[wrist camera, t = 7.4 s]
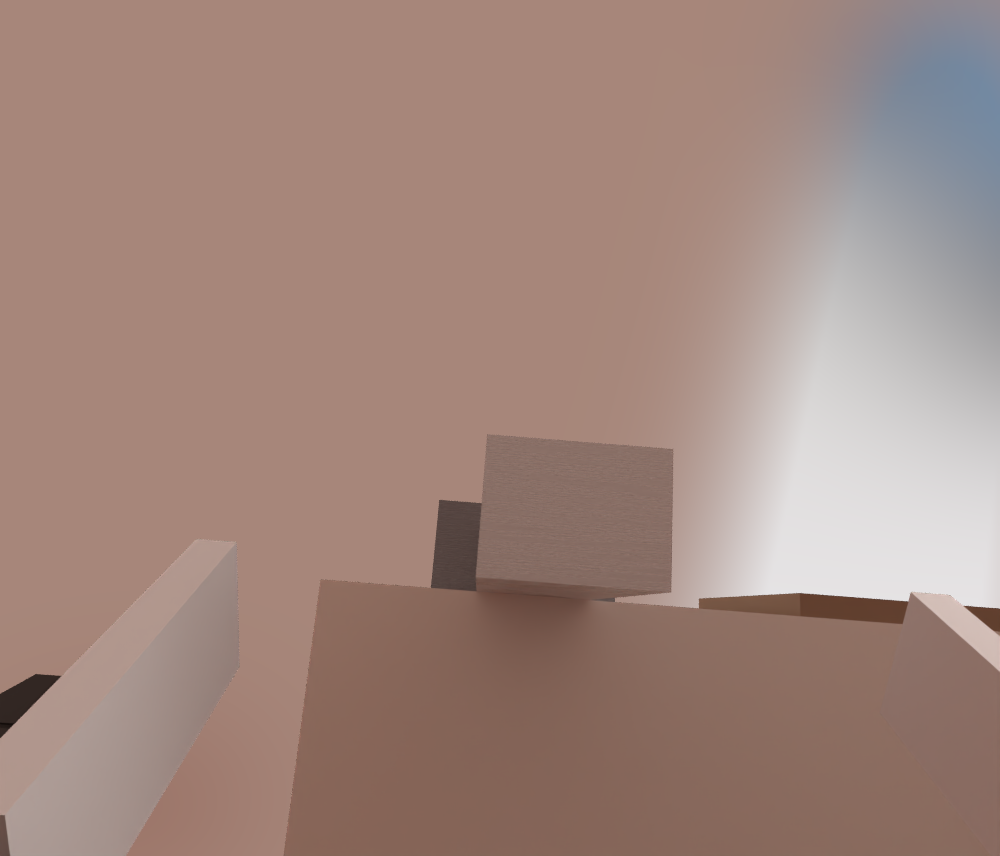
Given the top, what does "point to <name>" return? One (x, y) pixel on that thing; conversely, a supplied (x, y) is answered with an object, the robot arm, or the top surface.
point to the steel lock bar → (561, 522)
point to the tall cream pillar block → (608, 729)
